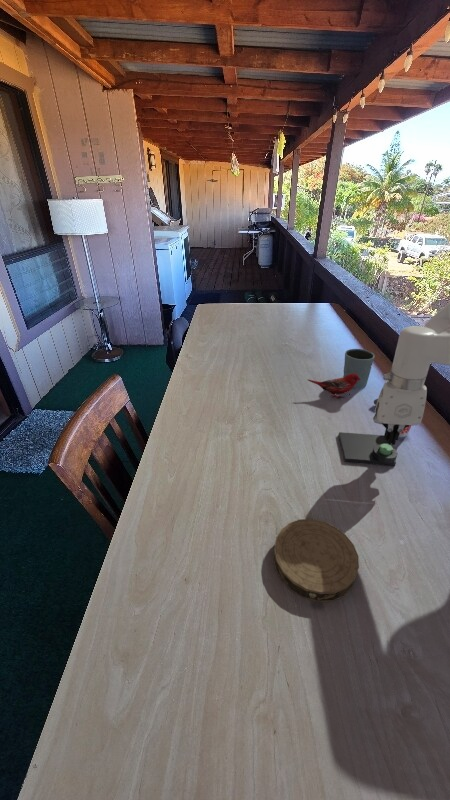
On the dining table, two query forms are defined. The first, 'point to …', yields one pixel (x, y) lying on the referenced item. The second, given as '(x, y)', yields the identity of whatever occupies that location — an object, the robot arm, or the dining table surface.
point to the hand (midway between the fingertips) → (389, 441)
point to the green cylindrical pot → (358, 365)
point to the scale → (365, 449)
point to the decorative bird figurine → (339, 384)
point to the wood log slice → (315, 560)
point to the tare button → (385, 449)
